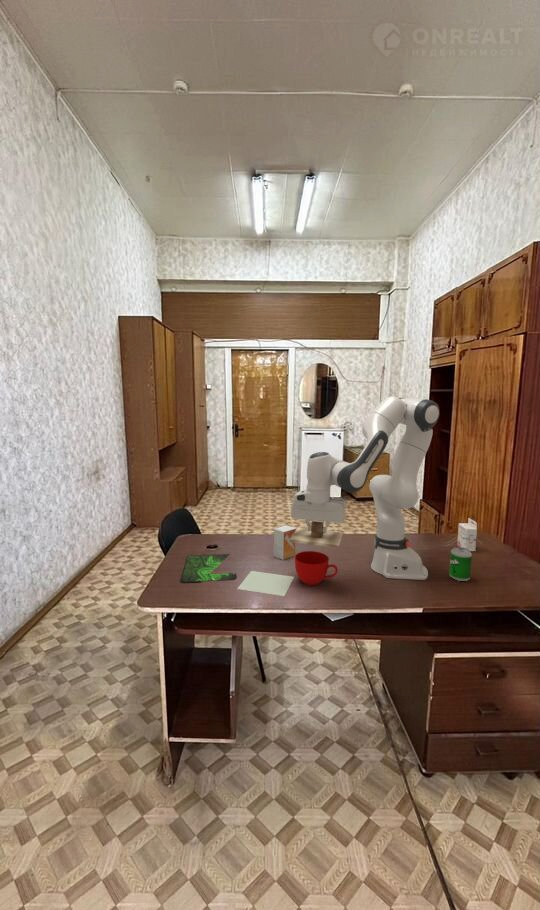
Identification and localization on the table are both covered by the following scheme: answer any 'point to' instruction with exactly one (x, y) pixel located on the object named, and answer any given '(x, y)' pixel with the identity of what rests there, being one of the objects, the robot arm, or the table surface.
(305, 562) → the ceramic cup
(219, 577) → the mouse mat
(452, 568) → the soda can
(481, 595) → the table surface
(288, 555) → the small box
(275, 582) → the mat
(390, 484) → the robot arm
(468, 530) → the ink cartridge box
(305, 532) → the lid
